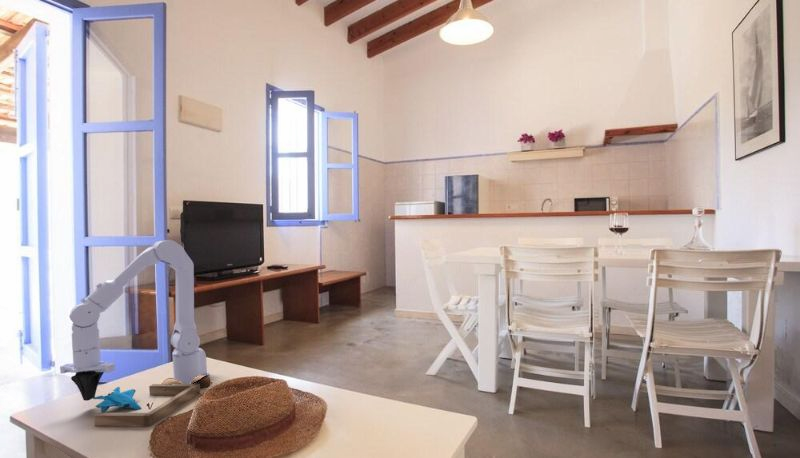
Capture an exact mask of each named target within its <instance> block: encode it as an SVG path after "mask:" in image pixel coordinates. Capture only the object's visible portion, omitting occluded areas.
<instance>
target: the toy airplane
mask: <svg viewBox="0 0 800 458" xmlns="http://www.w3.org/2000/svg"><path fill="white" fill-rule="evenodd" d="M135 393H136V389H134V388H131V389H129V390H128V389H127V390H126V391H125V390H124V391H121V387H120V386H117V387H116V388H114V389H113V390H112V392H110V393H107V395H99V396H95V397H94V398H92V400H103V401H100V402H99V403H97V404H96V405H95V406H94V407H96V408H97V409H100V411H101V412H103V411H106V412H107V411H108V409H109V408H111V407H121V408H122V409H132V410H142V409H143V408H142V407H141V406H140V405H139V403H137V402H136V399H135V398H134V395H135Z"/></svg>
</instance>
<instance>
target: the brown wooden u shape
mask: <svg viewBox="0 0 800 458" xmlns="http://www.w3.org/2000/svg"><path fill="white" fill-rule="evenodd" d="M162 384H163V383H153V384H150V385H149V386H148V388H149V391H148V392H149V396H173V397H170V399H168V400H166V401H165V402H163V403H161V404H159V405H158V406H157V407H155V408H153V409H152V410H150V411H148V412H98V413H96V414H94V415H93V420H94V421H93V422H94V427H151V426H153V425H154V424H156V423H157V422H159V421H160V420H161V419H162V418H164V417H166V416H167V415H169V414H171V413H172V412H173V411H175V410H176V409H178V408H179V407H181V406H183V405H184V404H186V403H187V402H188V401H190V400H191V399H193V398H194V397H196V396H198V395H199V394H201V384H200V383H194V384H172V385H162ZM163 388H166V391H164V390H163Z"/></svg>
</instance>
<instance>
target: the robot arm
mask: <svg viewBox="0 0 800 458" xmlns="http://www.w3.org/2000/svg"><path fill="white" fill-rule="evenodd" d="M160 262H161V263H164V264H165V265H166V264H167V266H169V267H170V268H172V269H173V270H174V271H175V274H174V275H175V276H174V278H175V322H174V325H173V332H172V334H171V337H170V345H172V346H173V348H174V349H173V351H172V353H171V355H172V370H173V380H174V379H177V380H179V381H181V382H182V383H183V384H190V382H191V381H192V380H193V379H194V378H195V377H197V376H199V375H207V376H209V375H210V372H208V367H207V355H206V354H207V353H206V352H205V350H204V349H203V348H201V347H199V346H200V345H201V338H200V336H199V335H198V332H197V331H198V330H197V329H198V328H197V325H196V322H195V286H194V285H195V284H194V283H195V280H194V279H195V276H194V273H195V272H194V271H195V270H194V268H195V266H194V265H195V264H194V262H193V260H192V259H191V258H190V256H189V255H188V253H187V252H186V250H185V249H184V247H183V246H182V245H181V244H179V243H178V242H176V241H174V240H171V239H165V240H157V241H155V242H153V244H152V245H151V246H149V247H147V248H146V249H144V251H142V252H141V253H139V254H138V255H137V256H136V257H135V258H134V259H133V260H131V262H130V263H129V264H128V265H127V266H126V267H125V268H124V269H123V270H122V271H120V272H119V274H118V275H117V276H116V277H115V278H114V279H108V280H104V281H103V282H102V283H101V282H98V283H97V284H96V285H95V289H94V290H93V291H92V292H91V293H90V294H88V295H87V296H86V297H85V298H84V297H83V298H81V299H80V300H79V301H80V302H81V303H78V304H77V305H75V306H74V307H72V309H71V311H70V314H69V318H70V321H72V324H71V325H72V326H71V331H72V332H71V347H72V362H73V363H66V364H63V365H60V368H59V370H60V372H59V373H60V374H65V373H71V374H72V373H73V374H74V373H75V375H72V376H71V378H70V380H71V381H72V382H74V384H75V385H76V386H77V388H78V390H79V392H80V395H81V398H82V400H83V401H85V402H86V401H91V400H93V398H94V397H96V393H97V389H98V385H99V383H100V381H101V379H102V376H104V374H105V373H106V374H109V373H112V372H114V371H116V364H115V362H108V361H106V362H105V361H102V360H101V345H100V330H99V327H98V326H99V325H98V321H99V320H100V316H101V313H104V312H105V311H106V310H107V309H109V308H110V306H112V304H114V303H115V302H116V301H117V300H118V299H119V298H120V297H121V296H122V295H124V287H125V286H127V285H128V283H130V282H131V281H132V280H133V279H134V278H135V277H136V276H137V275H139V274H140V273H141V272H142V271H143V270H144V269H145V268H147V267H149V266H153V265H156V264H159V263H160Z"/></svg>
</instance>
